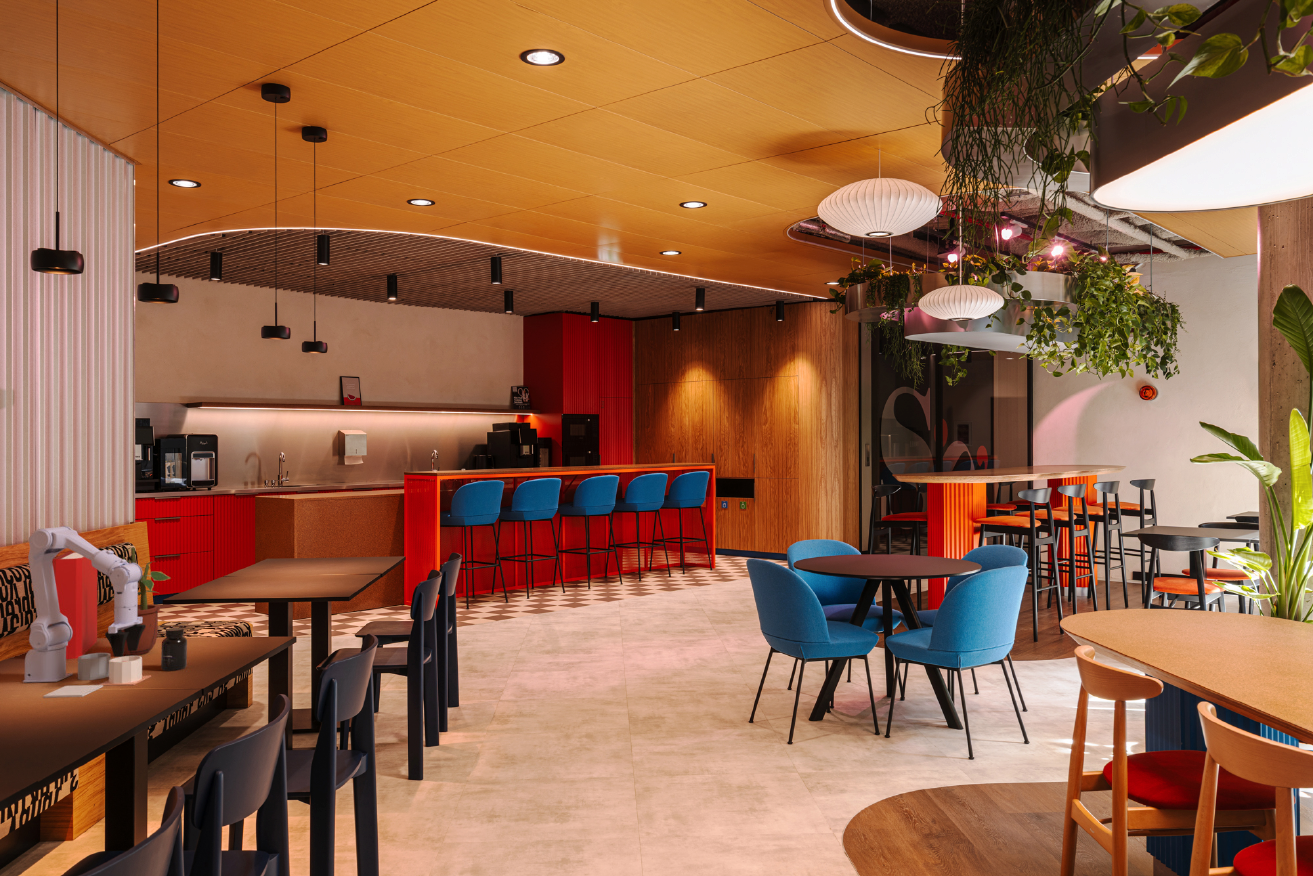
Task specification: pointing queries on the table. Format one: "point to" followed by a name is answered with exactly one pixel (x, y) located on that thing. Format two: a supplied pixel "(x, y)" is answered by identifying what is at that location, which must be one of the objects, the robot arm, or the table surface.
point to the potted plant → (146, 611)
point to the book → (77, 600)
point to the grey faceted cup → (93, 666)
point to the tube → (125, 671)
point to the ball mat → (73, 691)
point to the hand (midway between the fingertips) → (125, 653)
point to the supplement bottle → (174, 650)
